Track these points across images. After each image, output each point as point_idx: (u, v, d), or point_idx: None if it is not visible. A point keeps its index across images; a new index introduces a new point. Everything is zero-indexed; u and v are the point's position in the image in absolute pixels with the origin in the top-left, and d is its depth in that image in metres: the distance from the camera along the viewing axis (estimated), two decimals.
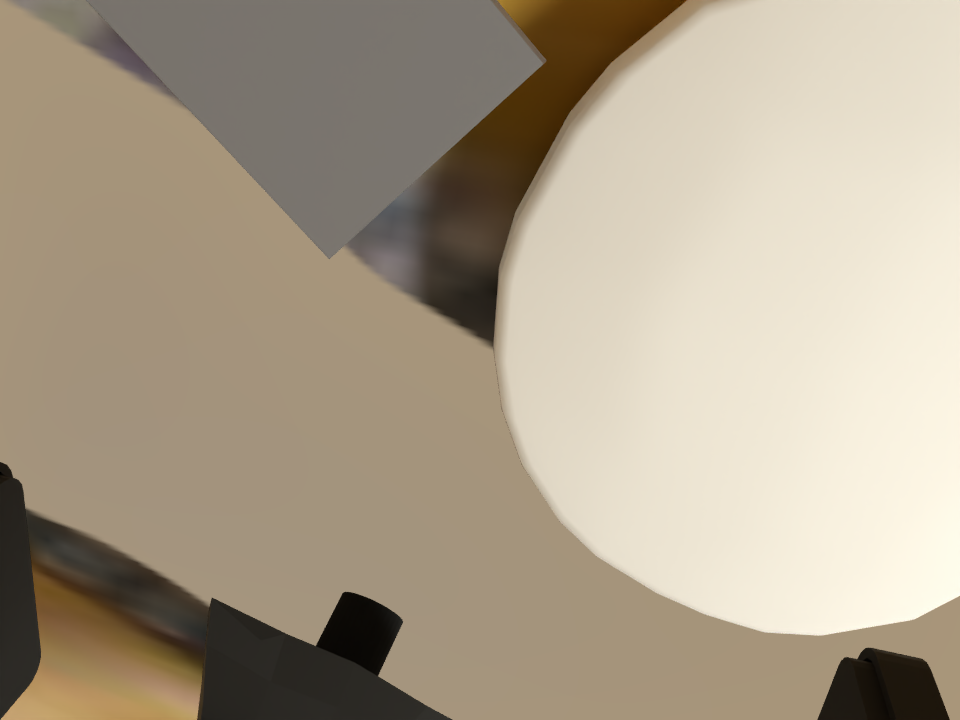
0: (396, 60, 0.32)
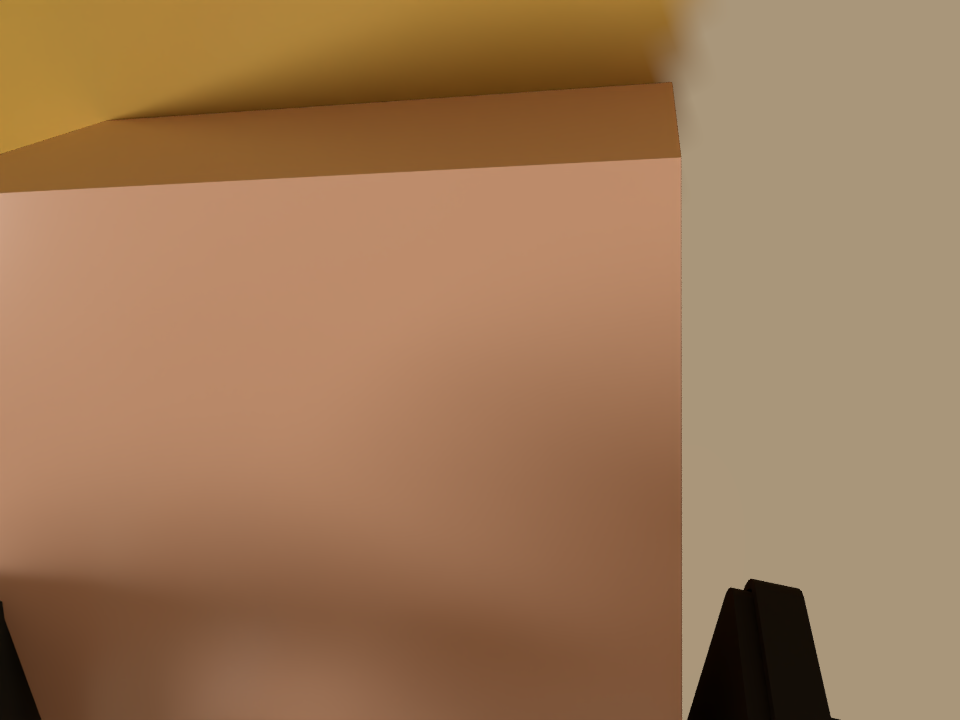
0: None
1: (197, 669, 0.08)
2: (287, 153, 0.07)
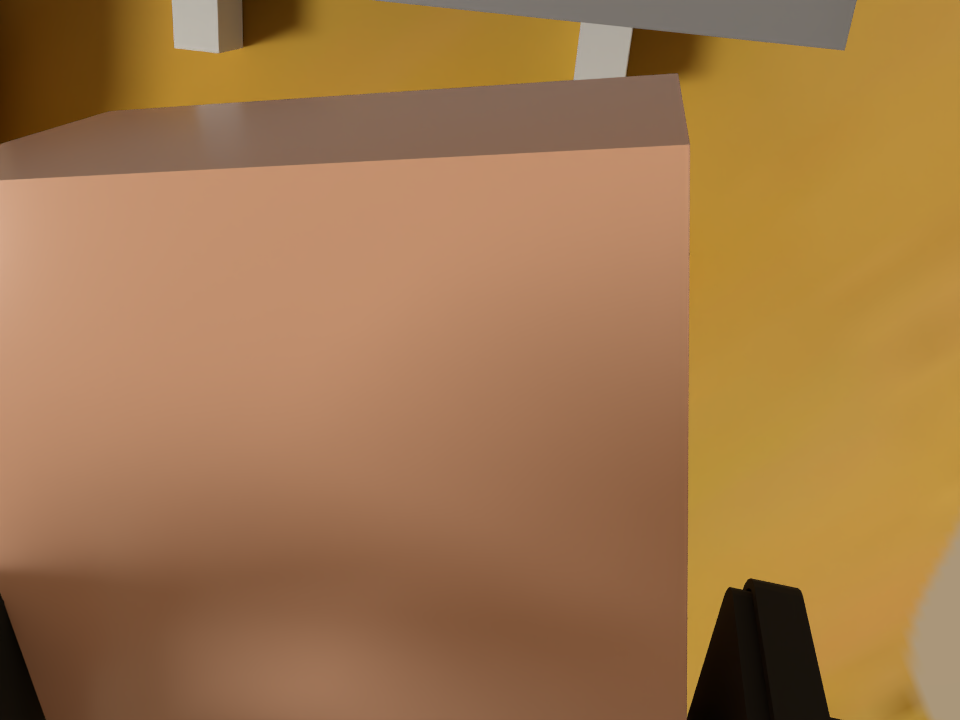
0: None
1: (199, 661, 0.08)
2: (292, 143, 0.07)
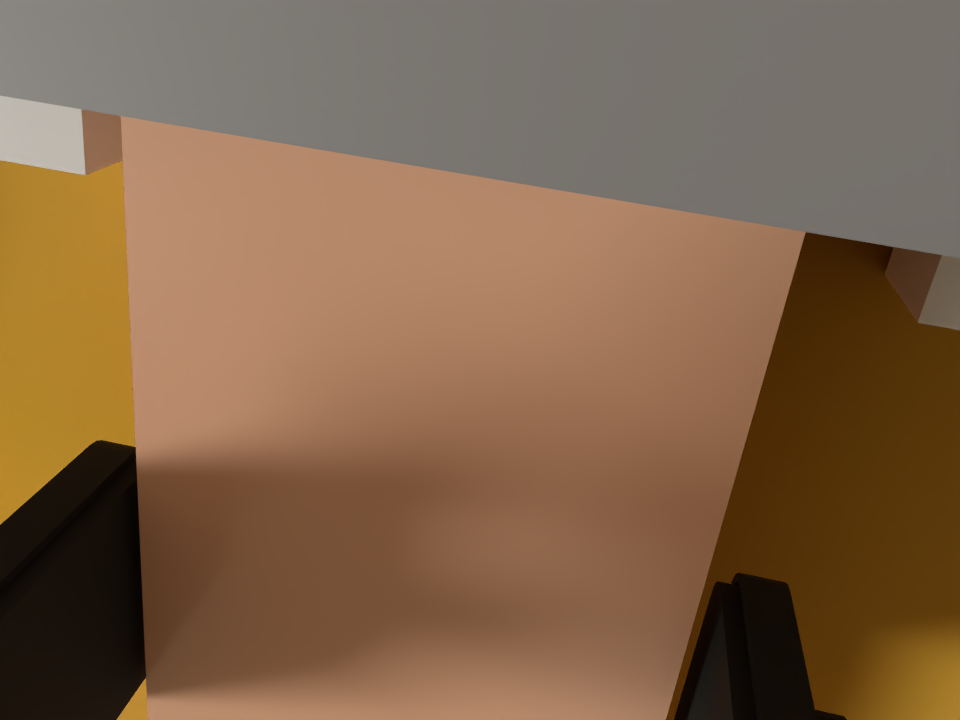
0: None
1: (301, 436, 0.09)
2: None
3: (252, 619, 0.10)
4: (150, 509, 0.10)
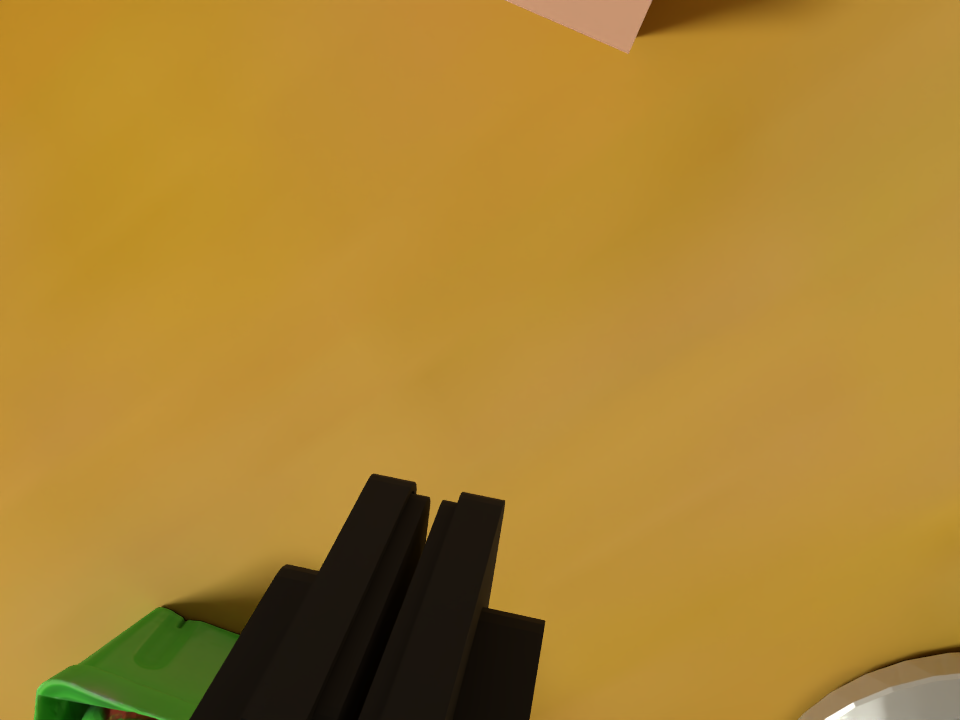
0: None
1: None
2: None
3: None
4: None
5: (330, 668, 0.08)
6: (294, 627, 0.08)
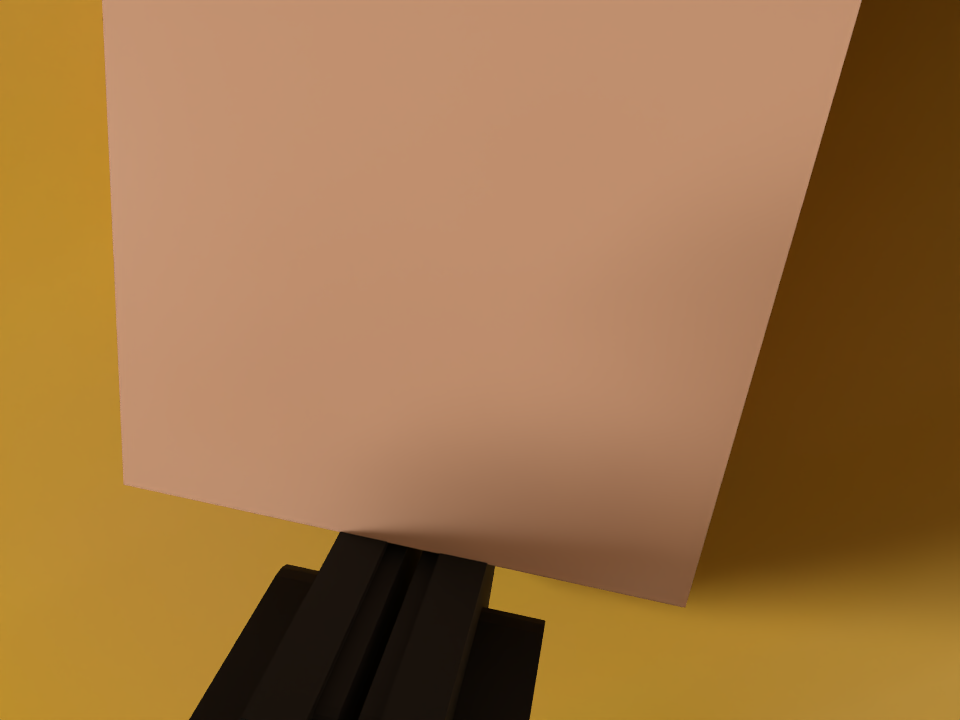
0: None
1: None
2: None
3: None
4: None
5: (330, 667, 0.08)
6: (294, 627, 0.08)
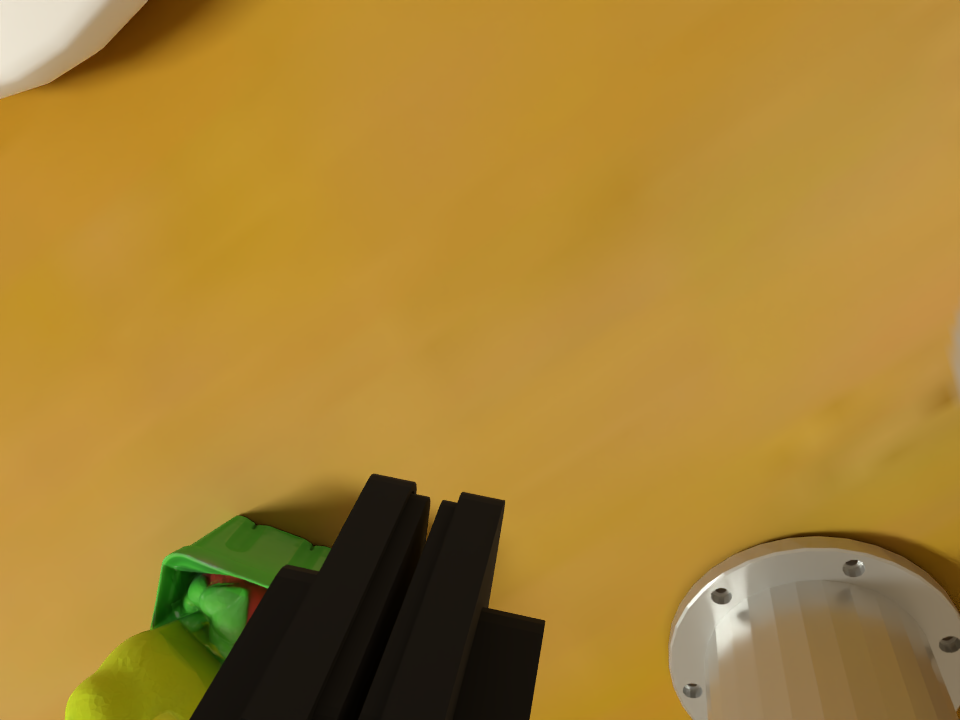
0: None
1: None
2: None
3: None
4: None
5: (330, 666, 0.08)
6: (294, 627, 0.08)
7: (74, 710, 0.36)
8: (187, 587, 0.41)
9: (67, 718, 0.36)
